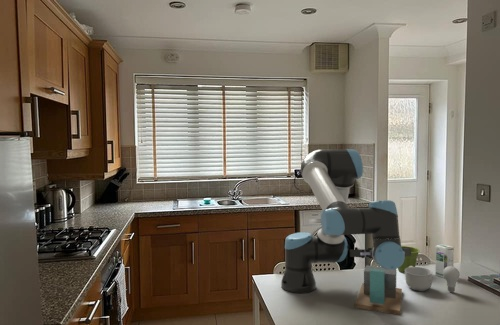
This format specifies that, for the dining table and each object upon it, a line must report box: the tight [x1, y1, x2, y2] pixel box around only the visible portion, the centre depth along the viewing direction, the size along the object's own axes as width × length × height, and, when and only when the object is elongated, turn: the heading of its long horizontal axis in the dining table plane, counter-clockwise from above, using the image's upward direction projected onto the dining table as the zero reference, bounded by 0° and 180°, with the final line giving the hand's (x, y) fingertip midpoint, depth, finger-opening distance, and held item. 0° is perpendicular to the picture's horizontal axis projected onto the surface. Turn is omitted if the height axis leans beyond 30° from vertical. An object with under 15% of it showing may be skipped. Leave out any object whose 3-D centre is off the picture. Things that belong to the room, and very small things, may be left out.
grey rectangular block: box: [363, 265, 397, 299], centre depth 147 cm, size 12×8×10 cm, turn 66°
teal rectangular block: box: [370, 268, 385, 304], centre depth 140 cm, size 5×14×12 cm, turn 156°
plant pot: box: [397, 245, 420, 274], centre depth 177 cm, size 12×12×11 cm
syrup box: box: [434, 244, 455, 279], centre depth 170 cm, size 6×6×14 cm
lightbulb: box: [443, 266, 461, 293], centre depth 151 cm, size 6×6×11 cm
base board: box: [354, 282, 403, 316], centre depth 144 cm, size 16×23×2 cm
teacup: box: [404, 266, 433, 292], centre depth 157 cm, size 14×11×8 cm
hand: (377, 251), depth 132 cm, fingers open, 13 cm apart
